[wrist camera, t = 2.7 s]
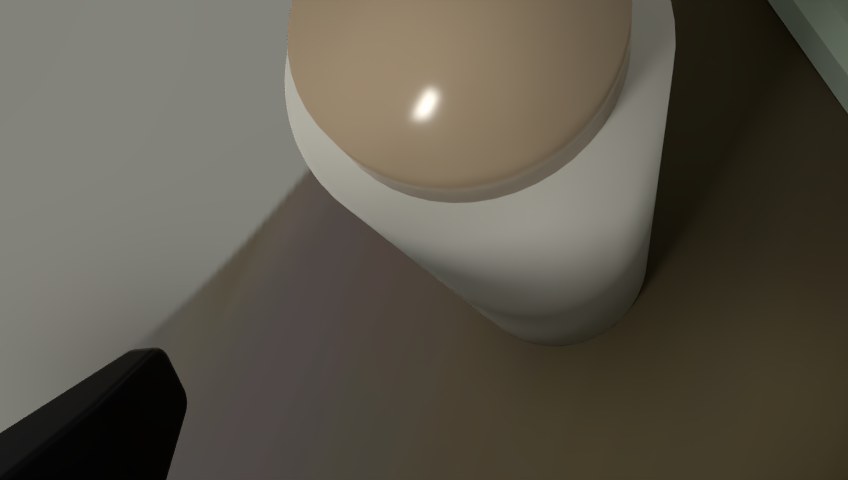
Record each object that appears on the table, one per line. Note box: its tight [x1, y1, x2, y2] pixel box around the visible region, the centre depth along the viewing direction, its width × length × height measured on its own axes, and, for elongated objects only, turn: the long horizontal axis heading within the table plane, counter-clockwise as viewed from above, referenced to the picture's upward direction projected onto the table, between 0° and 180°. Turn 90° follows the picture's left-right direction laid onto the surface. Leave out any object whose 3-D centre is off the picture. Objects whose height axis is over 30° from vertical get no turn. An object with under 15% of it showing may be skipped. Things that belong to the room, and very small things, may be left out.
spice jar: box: [285, 0, 676, 346], centre depth 15 cm, size 5×5×13 cm
